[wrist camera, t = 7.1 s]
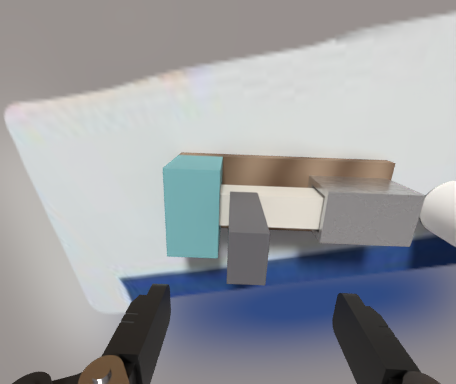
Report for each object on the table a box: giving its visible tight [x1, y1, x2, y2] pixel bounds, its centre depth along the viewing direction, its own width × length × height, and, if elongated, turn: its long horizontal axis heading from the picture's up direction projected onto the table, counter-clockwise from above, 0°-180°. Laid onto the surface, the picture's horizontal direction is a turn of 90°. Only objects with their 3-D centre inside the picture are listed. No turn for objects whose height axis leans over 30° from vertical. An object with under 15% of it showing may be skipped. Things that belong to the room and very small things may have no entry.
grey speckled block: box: [307, 175, 426, 247], centre depth 24 cm, size 8×5×5 cm, turn 88°
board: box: [179, 153, 395, 231], centre depth 27 cm, size 22×8×2 cm, turn 88°
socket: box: [163, 155, 223, 258], centre depth 23 cm, size 4×8×6 cm, turn 178°
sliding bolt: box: [219, 184, 325, 285], centre depth 20 cm, size 14×4×10 cm, turn 88°
